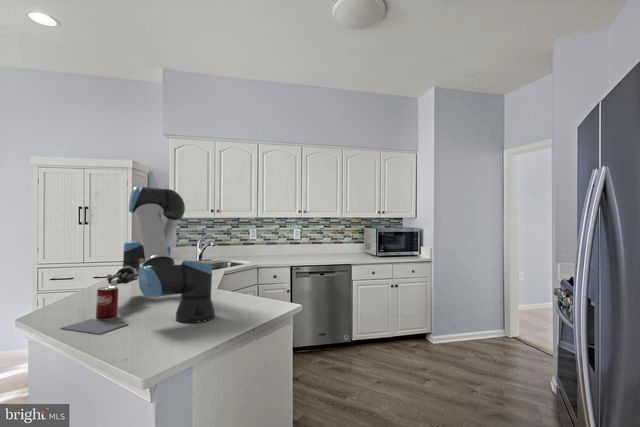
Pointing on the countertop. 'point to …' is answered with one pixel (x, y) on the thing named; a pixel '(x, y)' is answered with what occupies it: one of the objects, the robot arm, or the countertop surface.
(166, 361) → the countertop surface
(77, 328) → the mat
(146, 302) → the countertop surface
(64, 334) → the countertop surface
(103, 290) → the soda can
